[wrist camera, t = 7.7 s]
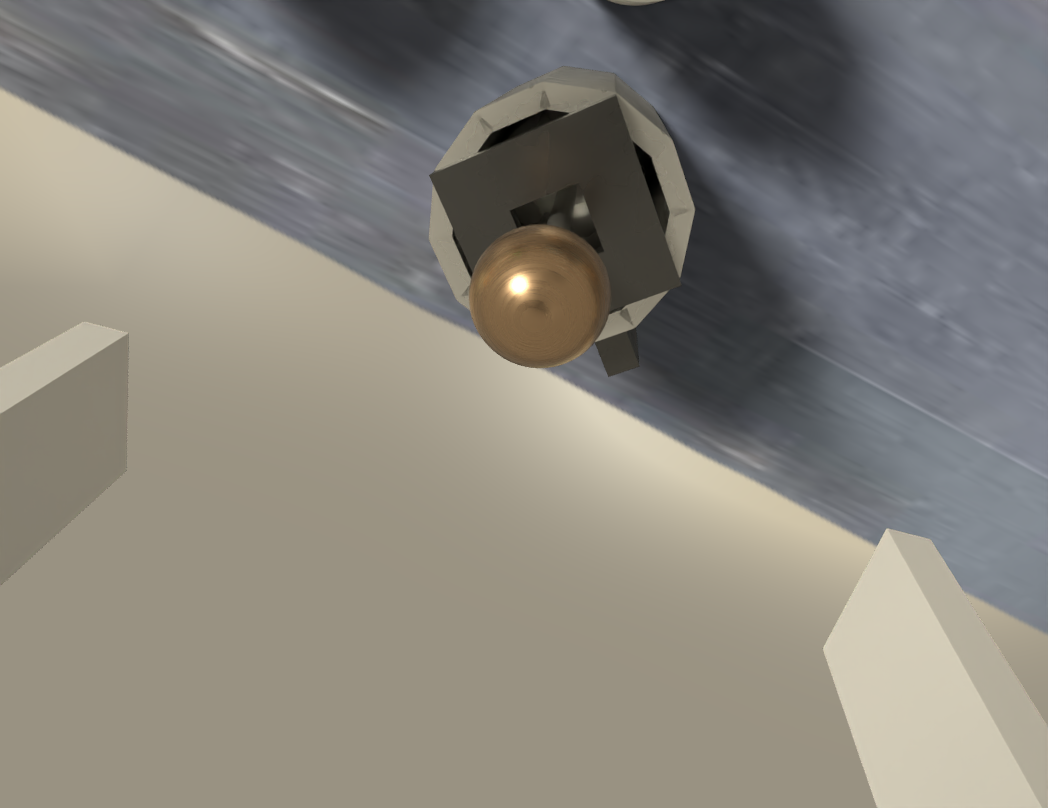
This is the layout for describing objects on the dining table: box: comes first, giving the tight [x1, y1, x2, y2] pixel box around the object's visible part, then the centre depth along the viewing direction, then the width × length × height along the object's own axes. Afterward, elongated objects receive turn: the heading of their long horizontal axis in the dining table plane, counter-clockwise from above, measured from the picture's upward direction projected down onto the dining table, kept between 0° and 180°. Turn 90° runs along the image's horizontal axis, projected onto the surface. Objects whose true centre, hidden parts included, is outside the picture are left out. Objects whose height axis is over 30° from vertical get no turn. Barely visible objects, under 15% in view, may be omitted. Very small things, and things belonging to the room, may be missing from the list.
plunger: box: [469, 110, 646, 368], centre depth 32 cm, size 8×8×21 cm
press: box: [429, 66, 695, 377], centre depth 41 cm, size 11×14×17 cm
